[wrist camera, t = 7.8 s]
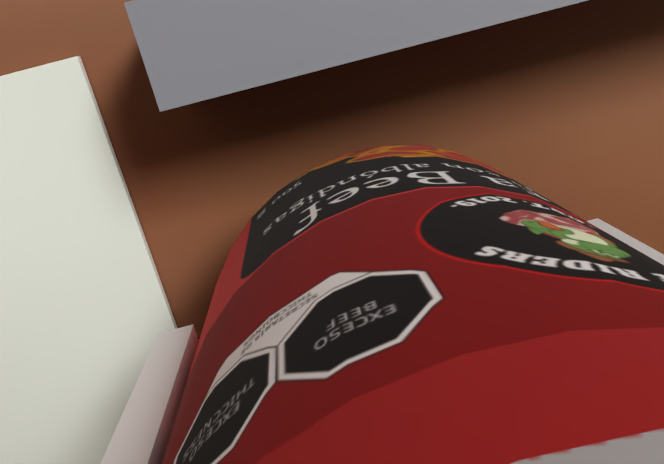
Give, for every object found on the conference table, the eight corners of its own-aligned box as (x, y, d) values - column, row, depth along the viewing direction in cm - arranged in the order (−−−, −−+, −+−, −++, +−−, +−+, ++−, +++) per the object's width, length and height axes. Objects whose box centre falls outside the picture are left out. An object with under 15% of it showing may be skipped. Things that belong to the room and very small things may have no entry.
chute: (-353, 144, 14) (-517, 170, 11) (845, -169, 14) (989, -224, 11) (-68, 628, 19) (-133, 736, 16) (842, 395, 18) (945, 460, 16)
